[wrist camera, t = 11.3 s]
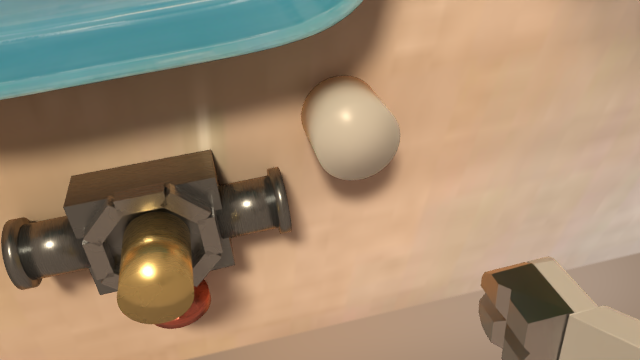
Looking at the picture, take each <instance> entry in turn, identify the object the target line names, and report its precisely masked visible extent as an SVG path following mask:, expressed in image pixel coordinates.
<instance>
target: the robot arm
mask: <svg viewBox="0 0 640 360" xmlns="http://www.w3.org/2000/svg"><path fill="white" fill-rule="evenodd" d="M481 287H482V288H483V290H484V291H485V294H484V295H483V297H482V298H481V299H480V301H479V315H480V320H481V324H482V327H483V329H484V331H485V333H486V335H487V337H488V338H489V340H490V341H491V343H493V344H495V345H497V346H499V347H501V348H502V349H503V351H502V360H640V320H638V319H635V318H633V317H631V316H629V315H626V314H624V313H622V312H619V311H617V310H615V309H612V308H610V307H608V306H601V307H598V306H597V305H596V304H595V302H594V301H593V300H592V299H591V298H590V297H589V296H588V295H587V294H586V293H585V292H584V291H583V290H582V288H581V287H580V286H579V285H578V284H577V283H576V282H575V281H574V280H573V279H572V278H571V277H570V276H569V275H568V273H567V272H566V271H565V270H564V269H563V268H562V267H561V266H560V265H559V264H558V263H557V262H556V260H555V259H553V258H551V257H549V256H548V257H544V258H540V259H536V260H532V261H528V262H523V263H519V264H515V265H511V266H507V267H503V268H499V269H495V270H492V271H488V272H485V273H484V274H483V276H482V280H481Z"/></svg>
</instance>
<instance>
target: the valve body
mask: <svg viewBox="0 0 640 360" xmlns="http://www.w3.org/2000/svg"><path fill="white" fill-rule="evenodd" d="M63 208H64V210H65V213H66V215H67V216H63V217H58V218H53V219H48V220H43V221H38V222H33V223H31V222H30V221H29V220H28V219H27V218H24V217H23V218H17V219H12V220H9V221H7V222H6V224H5V225H4V228H3V231H2V239H1V246H2V255H3V260H4V264H5V267H6V270H7V273H8V275H9V277H10V279H11V281H12V282H13V284H14V285H15V286H16V287H17V288H19V289H21V290H24V289H29V288H34V287H37V286H39V284H40V283H41V281H42V278H46V277H51V276H56V275H60V274H65V273H70V272H74V271H79V270H84V269H88V268H89V270H90V272H91V275H92V277H93V279H94V282H95V284H96V286H97V289H98V291H99V294H100V295H103V294H107V293H112V292H116V291H118V282H119V272H120V261H121V251H122V241H123V234H124V231H125V228H126V227H127V225H128V224H129V223H130V222H131V221H132V220H133V219H135V218H136V217H138V216H140V215H143V214H146V213H151V212H165V213H169V214H172V215H175V216H176V217H178V218H180V219H181V220H182V221H183V222H184V223H185V224H186V225H187V227H188V229H189V231H190V239H191V253H192V268H193V283H194V300H193V303H192V305H191V306H190V308H189V309H188V310H187V311H186V312H185V313H184V314H183V315H182V316H180V317H179V318H177V319H175V320H172V321H170V322H166V323H161V324H155V325H157V326H159V327H162V328H167V329H174V328H180V327H184V326H187V325H189V324H191V323H193V322H195V321H197V320H198V319H199V318H201V317H202V316H203V315H204V314H205V312H206V311H207V310H208V308H209V306H210V302H211V296H210V292H209V288H208V285H207V283H206V281H205V280H204V278H205V276H206V275H207V274H208V273H209V272H210V270H215V269H219V268H224V267H228V266H233V265H235V262H234V256H233V250H232V244H231V238H232V237H237V236H242V235H246V234H251V233H256V232H260V231H265V230H270V229H274V228H278V229H279V232H280V234H283V233H287V232H291V231H292V227H291V218H290V212H289V206H288V201H287V196H286V192H285V187H284V183H283V179H282V176H281V173H280V170H279V168H278V167H275V168H270V169H267V176H264V177H259V178H254V179H249V180H244V181H239V182H234V183H229V184H224V185H219V183H218V178H217V174H216V169H215V165H214V160H213V156H212V152H211V150H206V151H201V152H196V153H191V154H185V155H180V156H175V157H170V158H164V159H159V160H154V161H149V162H143V163H138V164H133V165H128V166H122V167H117V168H112V169H106V170H101V171H96V172H91V173H85V174H80V175H75V176H71V180H70V184H69V188H68V191H67V195H66V199H65V203H64V206H63Z"/></svg>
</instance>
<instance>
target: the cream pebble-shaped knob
mask: <svg viewBox="0 0 640 360" xmlns="http://www.w3.org/2000/svg"><path fill="white" fill-rule="evenodd" d="M301 121H302V126H303V128H304V131H305V133H306V135H307V137H308V139H309V141H310V143H311V145H312V147H313V150H314V152H315V154H316V156H317V158H318V160H319V162H320V164H321V166H322V167H323V168H324V169H325V170H326V171H327V172H328V173H329V174H330V175H332V176H334V177H336V178H339V179H343V180H350V181H351V180H361V179H365V178H368V177H370V176H373V175H374V174H376V173H378V172H379V171H381V170H382V169H383V168H385V167H386V166H387V165H388V164H389V162H390V161H391V160H392V159H393V157H394V155H395V154H396V151H397V149H398V146H399V142H400V129H399V125H398V122H397V120H396V118H395V117H394V115H393V114H392V113H391V112H390V111H389V109H388V108H387V107H386V106H385V104H384V103H383V102H382V101H381V100H380V98H379V97H378V96H377V95H376V93H375V92H374V91H373V90H372V89H371V87H370V86H369V85H368V84H367V83H366V82H364V81H363V80H361V79H359V78H356V77H353V76H335V77H332V78H329V79H326V80H324V81H323V82H321V83H320V84H318V85H317V86H316V87H315V88H313V89H312V91H311V92H310V93H309V94H308V96H307V97H306V99H305V101H304V104H303V107H302V112H301Z"/></svg>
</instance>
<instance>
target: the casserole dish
mask: <svg viewBox="0 0 640 360" xmlns="http://www.w3.org/2000/svg"><path fill="white" fill-rule="evenodd" d="M362 1H363V0H0V100H3V99H9V98H15V97H20V96H26V95H32V94H37V93H43V92H48V91H53V90H58V89H63V88H69V87H74V86H80V85H85V84H91V83H96V82H102V81H107V80H112V79H118V78H123V77H129V76H134V75H139V74H145V73H150V72H156V71H161V70H167V69H172V68H178V67H183V66H189V65H194V64H199V63H205V62H210V61H215V60H220V59H226V58H231V57H235V56H240V55H245V54H249V53H254V52H258V51H263V50H267V49H271V48H275V47H279V46H283V45H286V44H289V43H292V42H295V41H299V40H302V39H305V38H307V37H310V36H312V35H315V34H317V33H320V32H322V31H324V30H326V29H328V28H330V27H332V26H333V25H335V24H336V23H338V22H340V21H341V20H342V19H344V18H345V17H347V16H348V15H349V14H351V13H352V12H353V11H354V10H355V9H356V8H357V7H358V6H359V5H360V4H361V3H362Z"/></svg>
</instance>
